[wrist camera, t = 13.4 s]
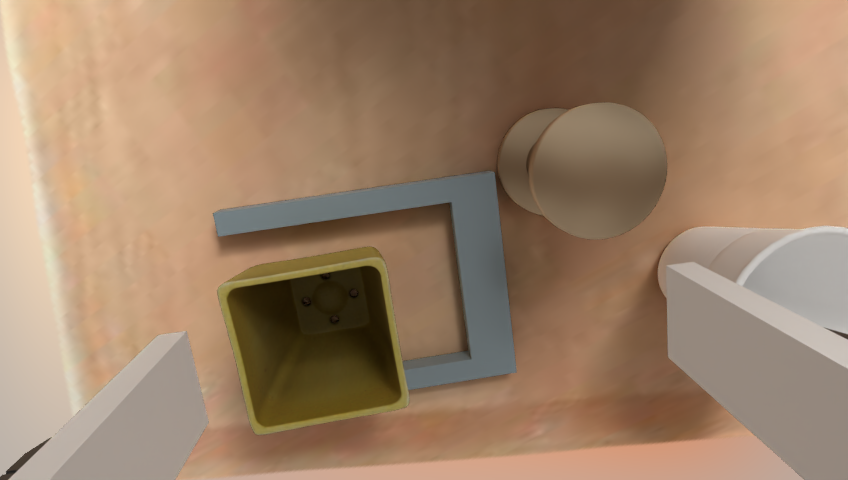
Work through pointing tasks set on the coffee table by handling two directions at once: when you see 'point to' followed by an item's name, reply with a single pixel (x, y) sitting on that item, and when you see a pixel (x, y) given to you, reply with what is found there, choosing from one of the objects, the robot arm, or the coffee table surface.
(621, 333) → the coffee table surface
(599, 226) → the bobbin
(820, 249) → the cup
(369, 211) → the blue-grey u-shaped bracket
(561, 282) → the coffee table surface
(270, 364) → the flower pot
